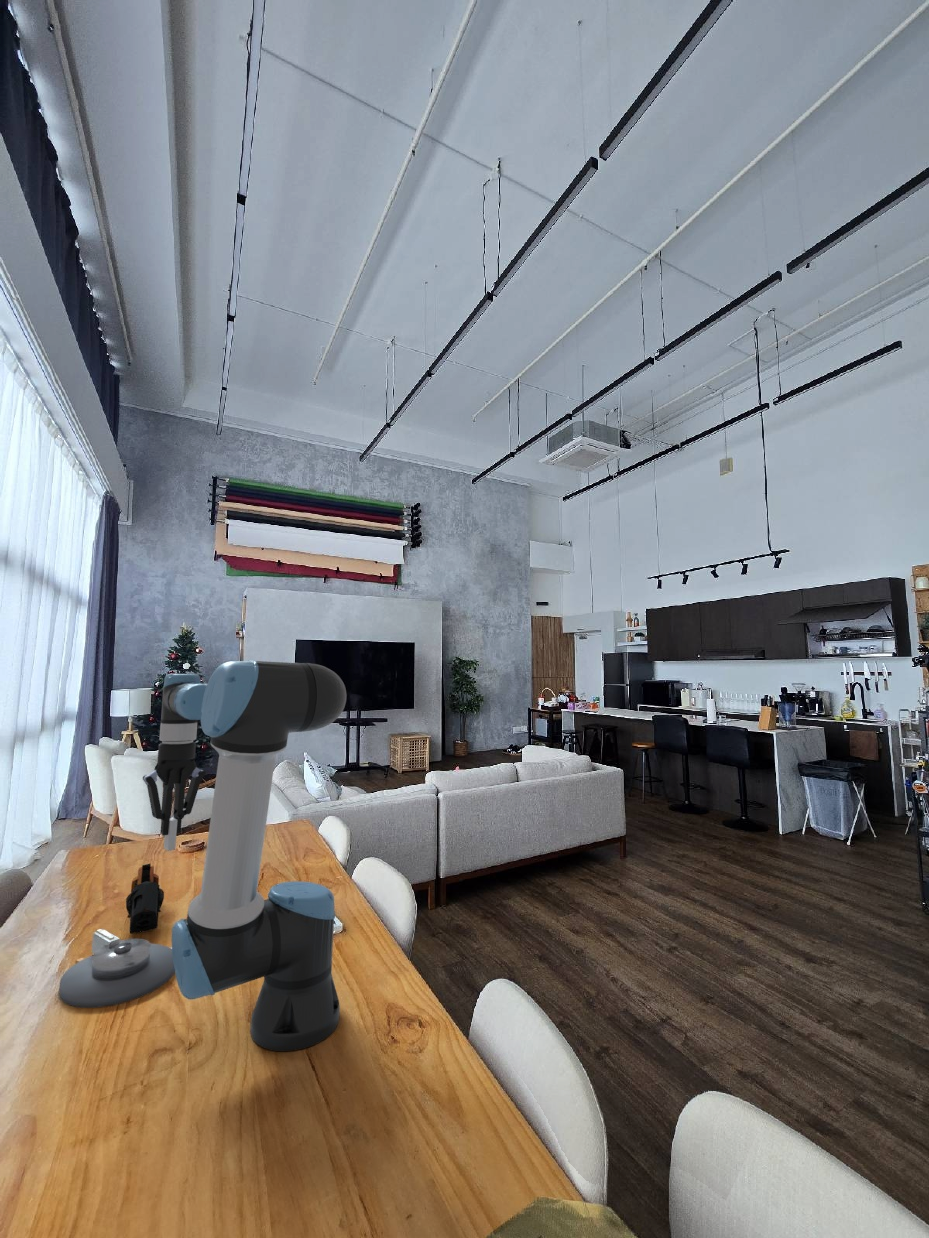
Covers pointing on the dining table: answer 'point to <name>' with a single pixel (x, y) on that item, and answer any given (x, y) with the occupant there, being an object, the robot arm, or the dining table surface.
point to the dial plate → (115, 981)
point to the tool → (144, 900)
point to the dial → (118, 955)
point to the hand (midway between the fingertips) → (169, 848)
